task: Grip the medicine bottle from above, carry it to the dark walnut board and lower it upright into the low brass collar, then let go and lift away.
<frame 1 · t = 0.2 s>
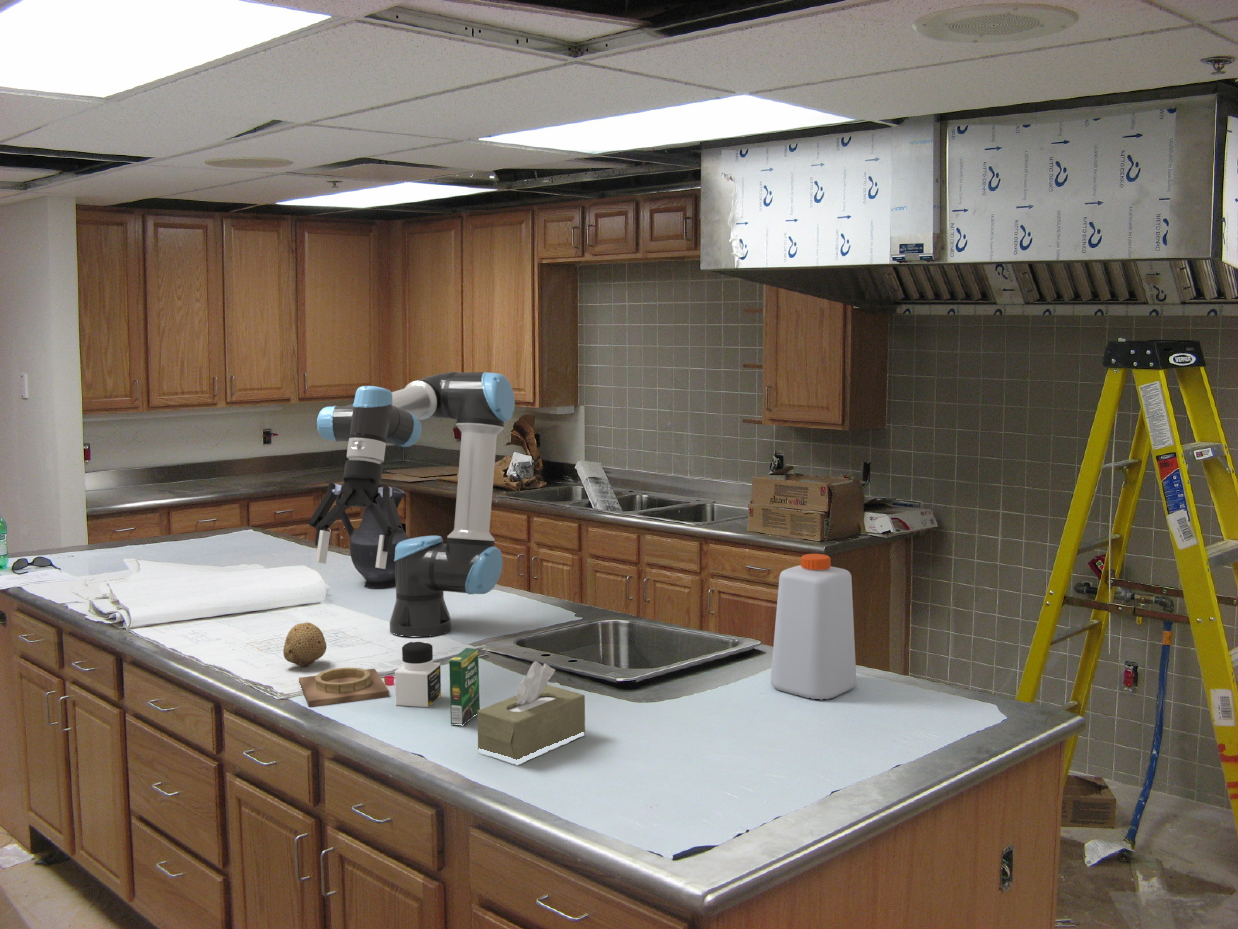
hand: (350, 565, 223), 27 cm above the countertop, tool tilted 15°, fingers open, 13 cm apart
medicine bottle: (418, 702, 224), on the countertop
tissue box: (532, 746, 201), on the countertop
collar board: (343, 689, 231), on the countertop
coffee box: (465, 720, 213), on the countertop
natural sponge: (307, 667, 246), on the countertop
plastic bottle: (813, 688, 232), on the countertop
pitcher: (374, 586, 323), on the countertop
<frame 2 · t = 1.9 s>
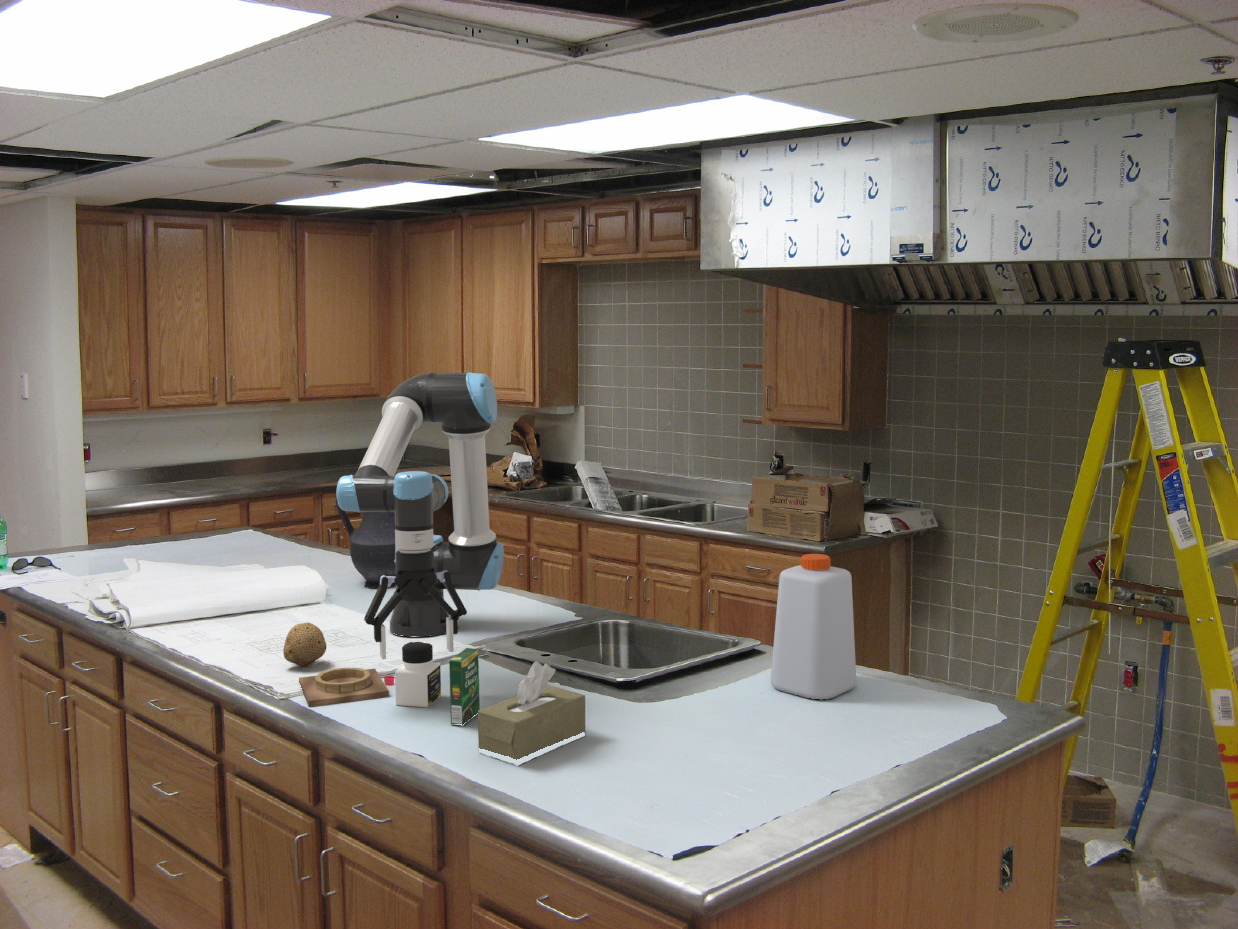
hand: (417, 654, 222), 10 cm above the countertop, tool pointing down, fingers open, 13 cm apart
nothing on the countertop moved.
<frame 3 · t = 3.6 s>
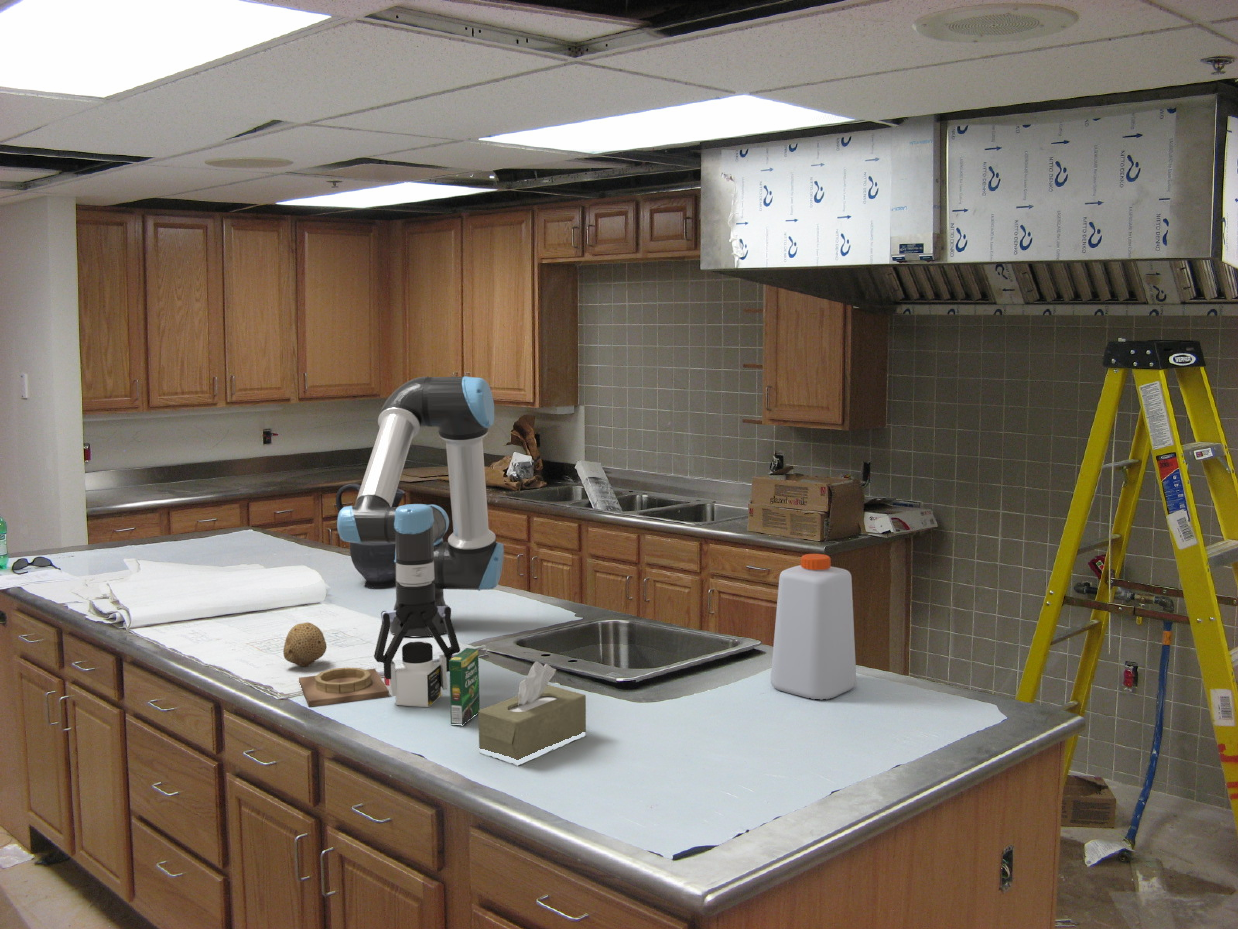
hand: (418, 690, 224), 2 cm above the countertop, tool pointing down, fingers closed on medicine bottle, 10 cm apart
medicine bottle: (418, 701, 224), on the countertop, touching gripper
everything else where it was.
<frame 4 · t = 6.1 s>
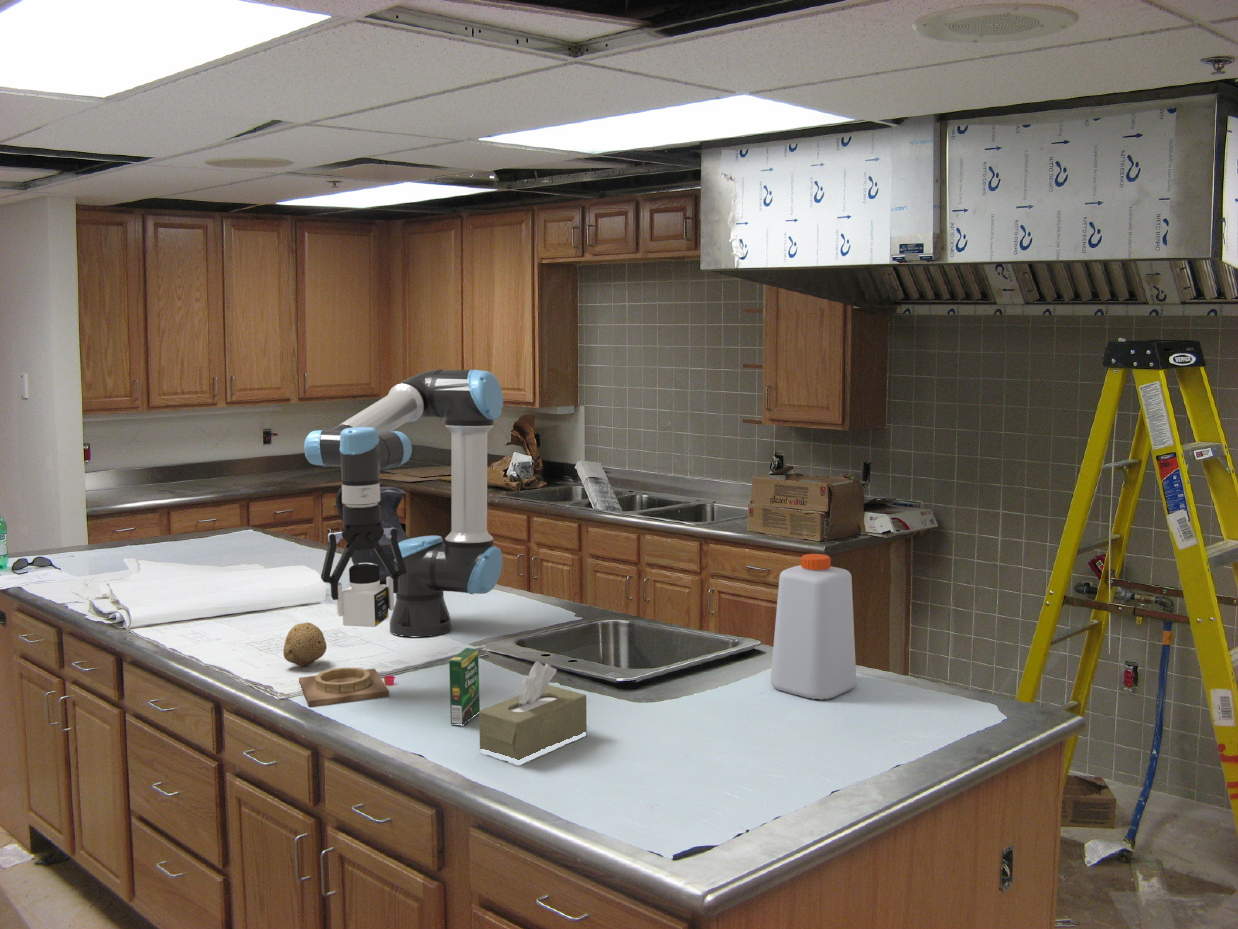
hand: (365, 611, 227), 17 cm above the countertop, tool pointing down, fingers closed on medicine bottle, 10 cm apart
medicine bottle: (366, 622, 227), point 15 cm above the countertop, touching gripper
everything else where it was.
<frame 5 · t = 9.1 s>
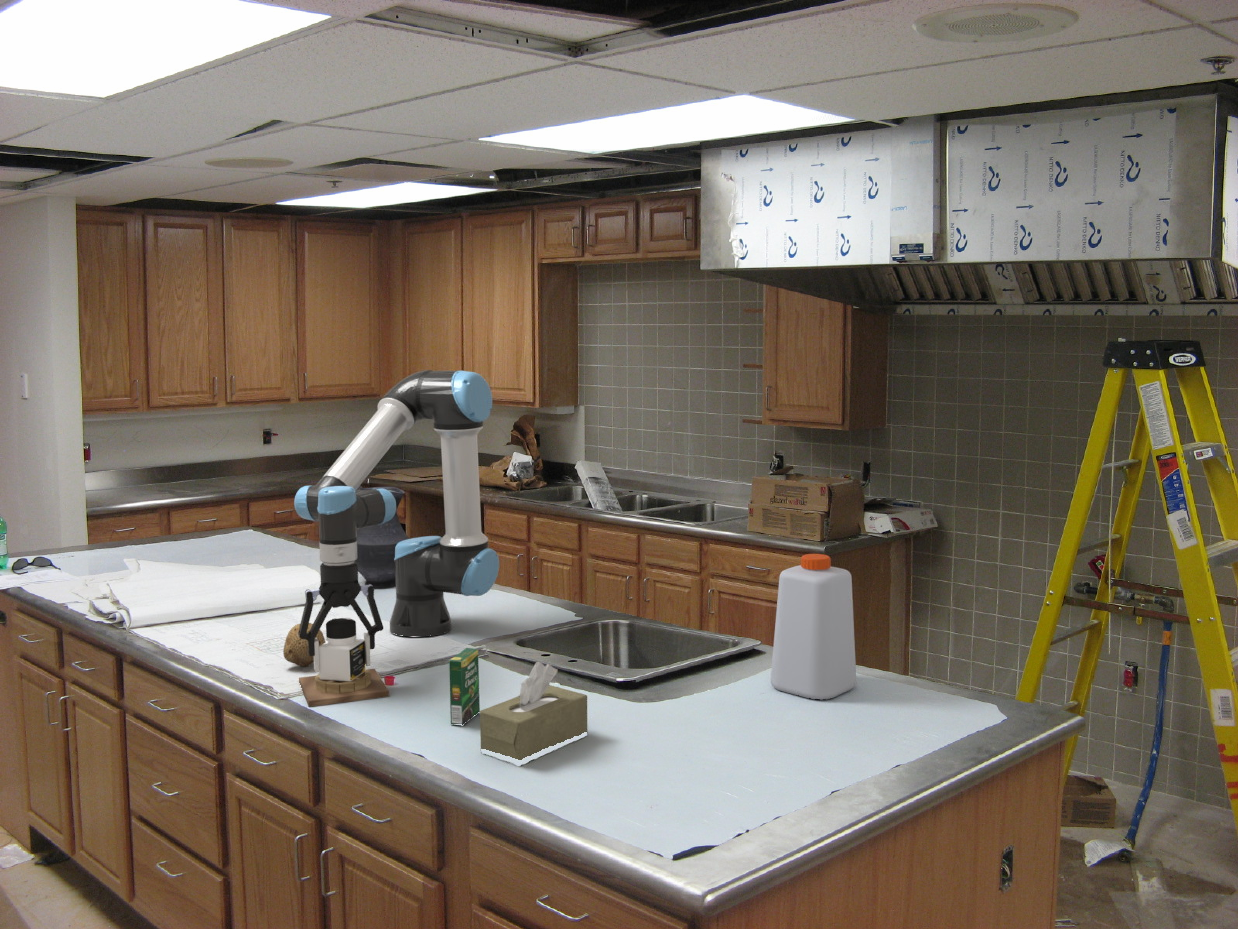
hand: (342, 667, 230), 5 cm above the countertop, tool pointing down, fingers closed on medicine bottle, 10 cm apart
medicine bottle: (342, 676, 231), point 3 cm above the countertop, touching collar board, gripper
everything else where it was.
when the fingers open (5 cm above the countertop, at t = 10.2 s): medicine bottle stays where it is, resting on collar board.
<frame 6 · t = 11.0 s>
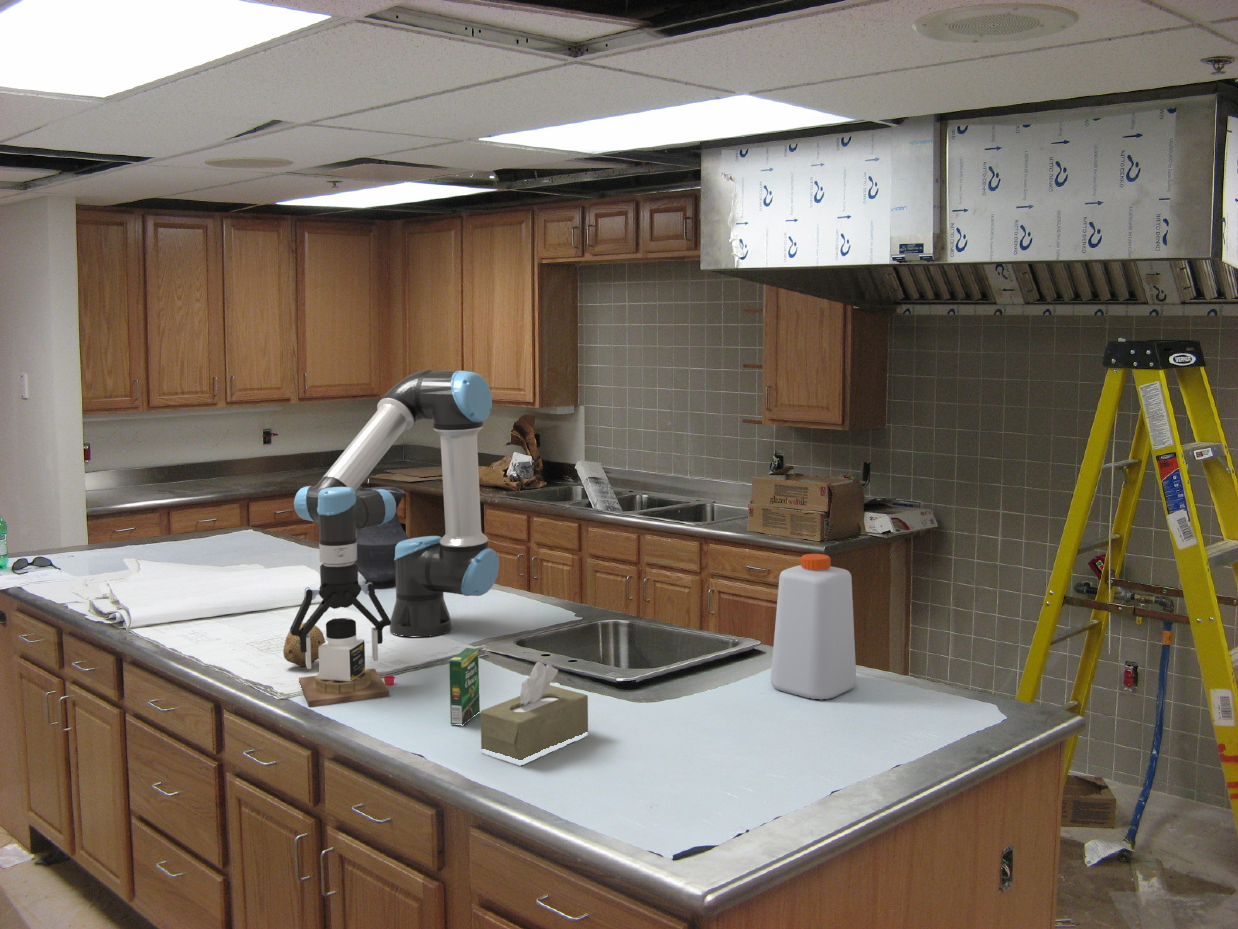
hand: (342, 663, 230), 6 cm above the countertop, tool pointing down, fingers open, 13 cm apart
medicine bottle: (342, 676, 231), point 3 cm above the countertop, touching collar board
everything else where it was.
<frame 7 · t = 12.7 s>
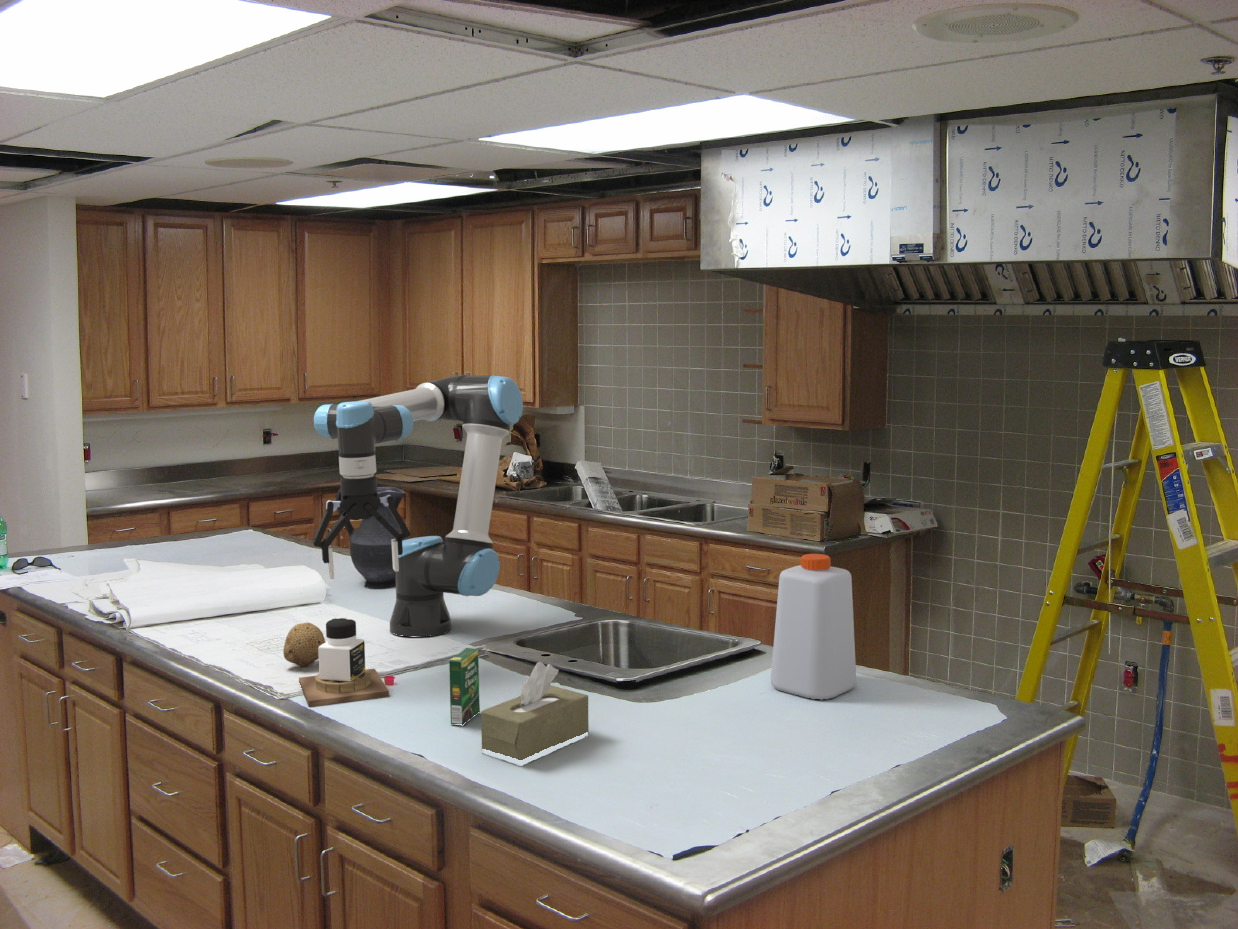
hand: (364, 574, 236), 23 cm above the countertop, tool pointing down, fingers open, 13 cm apart
nothing on the countertop moved.
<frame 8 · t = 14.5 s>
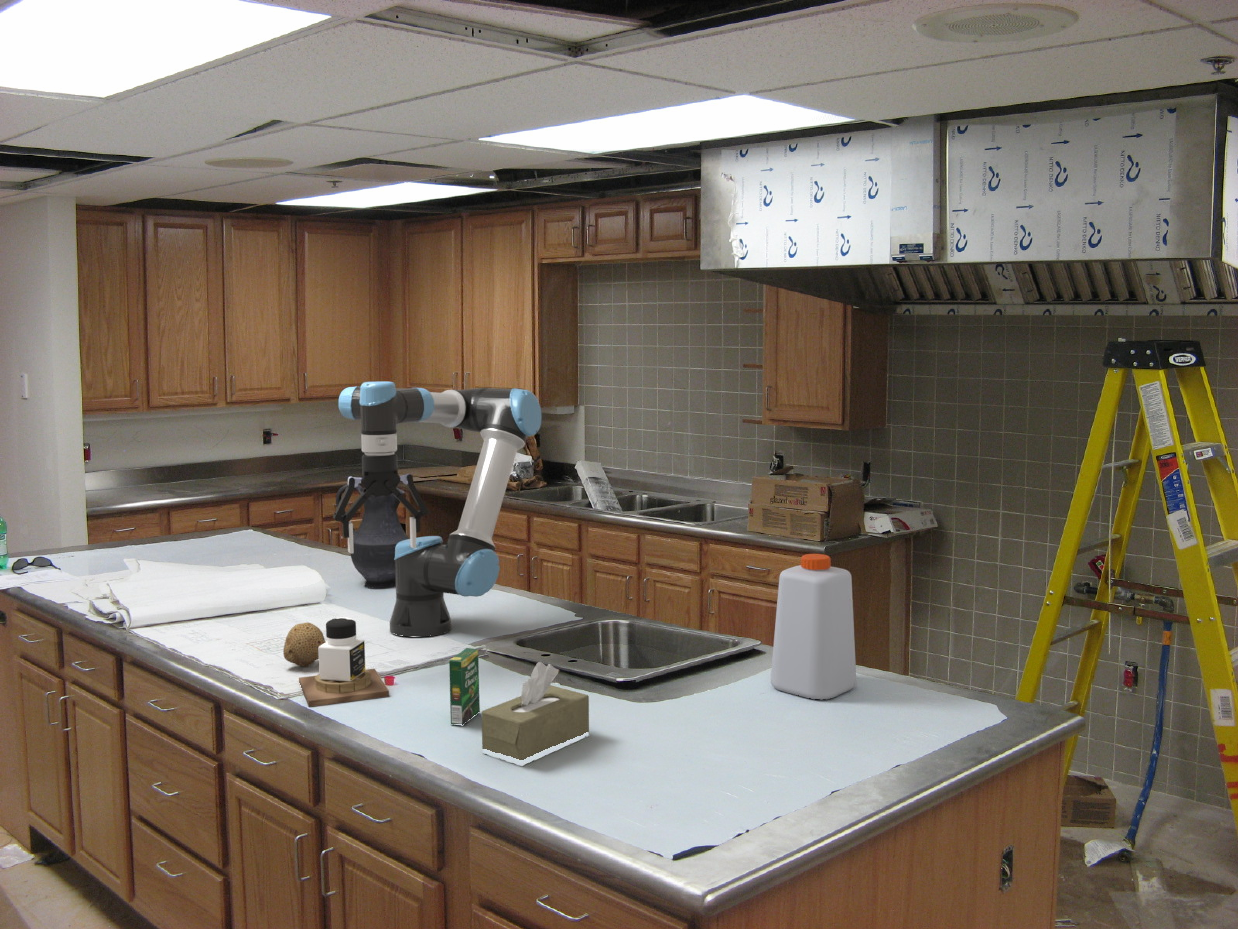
hand: (382, 550, 242), 27 cm above the countertop, tool pointing down, fingers open, 13 cm apart
nothing on the countertop moved.
at the end: medicine bottle 0.1 cm off-centre on the collar board, point 2.8 cm above the collar board's base; medicine bottle tilted 0°; the gripper is holding nothing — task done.
